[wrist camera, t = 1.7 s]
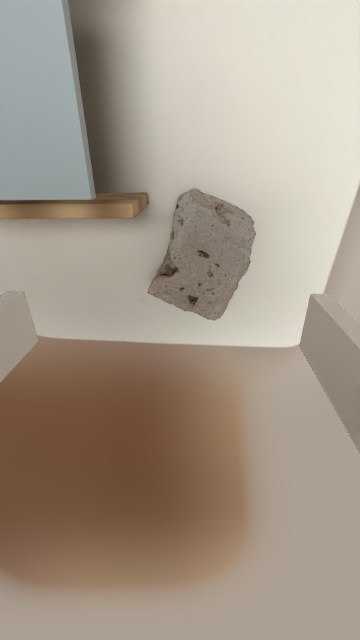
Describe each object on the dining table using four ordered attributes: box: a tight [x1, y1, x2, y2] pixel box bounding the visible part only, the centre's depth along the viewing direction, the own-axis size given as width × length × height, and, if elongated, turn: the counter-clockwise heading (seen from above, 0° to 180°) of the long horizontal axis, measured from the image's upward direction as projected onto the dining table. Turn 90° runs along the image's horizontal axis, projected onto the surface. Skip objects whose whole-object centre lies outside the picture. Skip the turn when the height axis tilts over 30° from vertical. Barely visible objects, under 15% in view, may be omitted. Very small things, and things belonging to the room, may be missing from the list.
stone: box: [148, 189, 256, 320], centre depth 30 cm, size 13×6×10 cm
